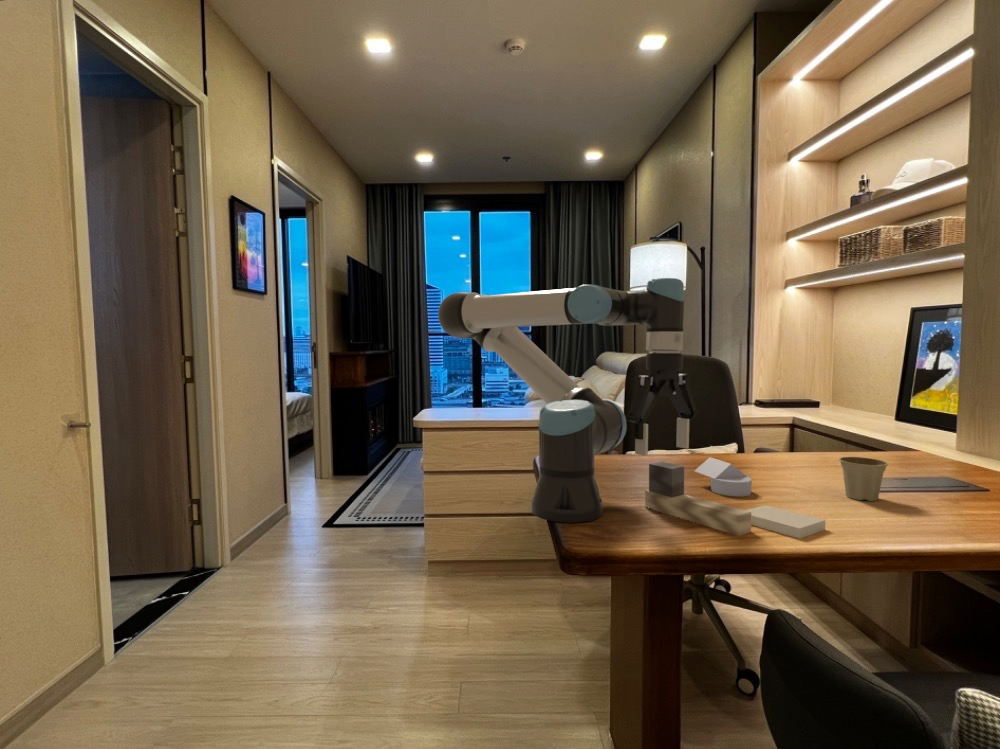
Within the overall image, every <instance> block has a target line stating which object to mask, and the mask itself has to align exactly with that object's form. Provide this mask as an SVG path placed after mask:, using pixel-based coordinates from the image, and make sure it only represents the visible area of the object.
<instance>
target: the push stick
mask: <svg viewBox="0 0 1000 749" xmlns="http://www.w3.org/2000/svg"><path fill="white" fill-rule="evenodd" d="M648 464H649V465H648V489H644V492H645V496H644V499H645V500H644V501H645V503H644V506H645V507H649V508H652V509H655V510H658V511H661V512H660V513H662V512H664V513H663V514H665V513H667V514H666V515H668V514H670V515H669V516H672V515H674V516H673V517H675V516H676V517H675V518H678V517H680V518H679V519H682V518H683V519H682V520H685V519H686V521H688V520H689V522H691V521H692V522H691V523H695V522H696V524H699V525H701V524H702V525H703V526H705V527H709V528H711V529H716V530H717V531H718V530H719V531H721V532H725V533H728V534H731V535H734V536H737V537H740V536H742V535H745V534H748V533H750V532H752V525H751V512H750V511H746V510H747V509H742V508H738V507H734V506H730V505H727V504H726V505H725V504H724V503H723V504H722V503H719V502H715V501H713V500H712V501H710V500H709V499H708V500H707V499H703V498H699V497H696V496H692V495H688V494H685V465H679V464H674V463H671V462H670V463H669V462H666V461H657V462H651V463H648ZM645 507H644V508H645ZM649 508H648V509H649ZM652 509H651V510H652ZM655 510H654V511H655ZM658 511H657V512H658ZM702 525H701V526H702Z"/></svg>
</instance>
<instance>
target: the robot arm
mask: <svg viewBox="0 0 1000 749" xmlns="http://www.w3.org/2000/svg"><path fill="white" fill-rule="evenodd" d="M685 300H686V299H685V288H684V282H683V281H682V280H681V279H680V278H673V277H672V278H671V277H665V278H664V277H660V278H653V279H649V280H648V281H647V285H646V289H645V288H644V289H640V290H639V289H638V290H619V289H614V288H608V287H604V286H601V285H598V284H582V285H579V286H577V287H573V288H572V287H571V288H561V289H549V290H538V291H537V290H535V291H527V292H526V291H523V292H515V293H504V294H503V293H502V294H493V295H492V294H479V293H478V292H465V291H464V292H461V291H460V292H454V293H451V294H449V295H447V296H446V297H445V298H444V299H443V300H442V301H441V303H440V305H439V307H438V311H437V312H438V313H437V317H438V322H439V325H440V327H441V328H442V329H443V330H444V332H446V334H447V335H449V336H452V337H454V338H457V339H471V340H474V341H475V342H477V344H478V345H479V346H480V347H481V348H483V350H485V351H486V352H488V353H492V352H493V353H496V354H497V356H498V357H500V358H501V359H502V361H503V362H504V363H505V364H506V365H508V367H510V369H512V371H513V373H514V372H515V374H516V376H518V377H519V378H520V379H521V380H522V381H523V382H524V383H525V384H526V385H527V386H528V387H529V388H530V389H531V390H532V391H533V392H534V394H536V395H537V396H538V397H539V398H540V399H541V400H542V401H543V402H544V403H545V404H544V405H543V406H542V407H541V409H540V411H539V420H538V423H537V424H538V426H537V427H538V442H539V444H538V445H539V446H538V447H539V448H538V449H539V453H538V454H539V460H538V461H539V463H538V464H539V477H538V479H537V483H536V486H535V490H534V494H533V497H532V498H531V503H530V504H531V505H530V506H531V508H530V510H531V513H532V514H533V515H534V516H535V517H537V518H539V519H542V520H546V521H551V522H558V523H584V522H589V521H594V520H596V519H598V518H601V517H602V516H603V513H604V504H603V499H602V497H601V495H600V492H599V491H600V490H599V488H598V484H597V481H596V478H595V477H596V476H595V456H596V455H599V454H601V453H606V452H610V451H611V450H613V449H614V448H616V447H617V446H618V445H620V443H622V441H623V440H624V438H625V436H626V433H627V429H628V428H627V425H628V424H627V421H629V422H630V423H632V424H634V425H633V437H634V439H635V440H634V441H635V443H634V454H635V455H640V456H643V457H644V456H646V457H647V456H649V455H648V454H649V424H648V423H646V422H647V420H648V419H649V417H650V415H651V412H652V411H653V409H654V408H655V406H656V404H657V401H658V400H659V399H661V398H662V397H666V396H668V398H669V399H670V401H671V403H672V405H673V406H674V408H675V410H676V412H677V414H678V416H679V417H677V418H676V435H675V436H676V438H675V439H676V443H675V444H676V446H675V448H682V449H686V450H687V449H689V448H690V447H689V446H690V445H689V444H690V437H689V436H690V430H691V420H693V419H695V417H696V415H697V414H698V410H697V407H696V403H695V401H694V397H693V394H692V390H691V386H690V381H689V374H688V373H679V372H680V371H682V370H683V368H684V366H683V364H684V362H683V361H684V354H683V353H681V351H683V349H684V319H685V318H684V316H685V315H684V314H685V313H684V312H685ZM588 324H596V325H598V326H607V327H614V326H634V325H641V326H642V325H646V333H645V334H646V336H645V339H646V340H645V350H646V351H648V352H647V354H646V355H645V357H646V358H645V369H646V370H647V371H648V372H649V374H648V375H641V374H640V375H638V378H637V386H636V389H635V392H634V395H633V397H632V400H631V403H630V407H629V409H628V412H627V415H625V413H624V411H623V409H622V408H621V407H620V406H619V405H618V404H617V403H615V402H613V401H611V400H606V399H603V398H601V396H599V394H597V392H595V391H594V390H593V389H592V388H590V387H588V386H587V387H586V386H585V387H580V386H579V385H578V384H577V383H576V382H575V380H573V379H572V378H571V377H570V376H569V375H568V374H567V373H566V372H565V371H563V370H562V369H561V368H560V366H559V365H557V363H555V362H554V361H553V360H552V359H551V358H550V357H549V356H548V354H546V353H544V351H543V350H542V349H541V348H539V347H538V346H537V345H536V344H535V343H534V342H533V341H532V340H531V339H530V337H528V336H527V335H526V334H525V333H524V332H523V331H522V330H521V329H520V328H519V327H521V328H522V327H539V326H540V327H541V326H561V325H588Z"/></svg>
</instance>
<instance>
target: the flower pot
mask: <svg viewBox="0 0 1000 749" xmlns="http://www.w3.org/2000/svg"><path fill="white" fill-rule="evenodd" d="M838 461H839V462H840V466H841V467H842V475H843V482H844V490H845V495H846V497H848V498H850V499H853V500H857V501H864V500H866V501H868V502H874V501H877V500H879V495H880V491H881V486H882V482H883V476H884V473H885V471H886V469H887V466H889V463H888V462H887V461H885V460H880V459H878V458H877V459H876V458H870V457H862V456H841V457H839V458H838Z"/></svg>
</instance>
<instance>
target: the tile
mask: <svg viewBox="0 0 1000 749" xmlns="http://www.w3.org/2000/svg"><path fill="white" fill-rule="evenodd" d="M745 510H746V511H750V512H751V526H755V527H759V528H762V529H766V530H769V531H772V532H775V533H778V532H779V533H778V534H781V533H782V534H781V535H786V536H789V537H792V538H795V539H799V540H800V539H803V538H805V536H806V537H809V536H811V535H813V534H816V533H819V532H820V533H821V532H823V531H824V530H826V519H822V518H818V517H814V516H810V515H807V514H803V513H799V512H795V511H790V510H788V509H782V508H779V507H774V506H771V505H767V504H764V505H760V506H757V507H754V508H750V509H745Z"/></svg>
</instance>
